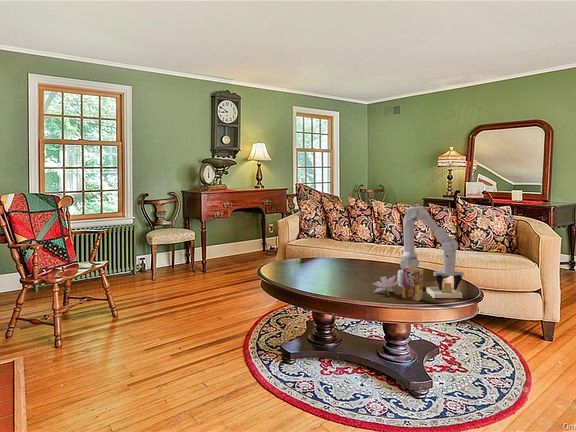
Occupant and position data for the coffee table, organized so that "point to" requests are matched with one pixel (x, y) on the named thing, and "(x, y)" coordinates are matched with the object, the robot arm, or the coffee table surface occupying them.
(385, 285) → the water lily
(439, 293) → the bore box
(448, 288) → the peg
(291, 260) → the coffee table surface
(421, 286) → the candy box
